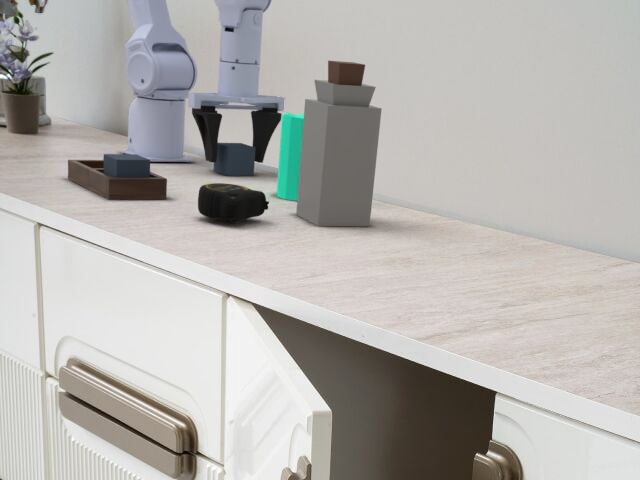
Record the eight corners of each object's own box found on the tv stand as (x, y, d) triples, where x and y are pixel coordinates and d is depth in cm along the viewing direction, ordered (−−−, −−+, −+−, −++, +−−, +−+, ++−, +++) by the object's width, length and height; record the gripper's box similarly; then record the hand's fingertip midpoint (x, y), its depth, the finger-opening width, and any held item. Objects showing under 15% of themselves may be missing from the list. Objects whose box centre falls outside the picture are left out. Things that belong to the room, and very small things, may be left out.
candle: (323, 196, 152) (331, 103, 147) (318, 203, 147) (327, 107, 142) (279, 191, 153) (286, 98, 148) (273, 198, 147) (280, 102, 142)
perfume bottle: (296, 214, 138) (308, 58, 130) (346, 215, 140) (360, 62, 133) (317, 225, 132) (331, 63, 125) (369, 226, 135) (385, 67, 128)
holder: (67, 179, 147) (67, 159, 146) (122, 179, 151) (122, 160, 150) (108, 199, 136) (109, 178, 135) (166, 199, 140) (167, 178, 139)
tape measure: (232, 228, 126) (234, 195, 125) (184, 218, 129) (186, 185, 128) (267, 222, 131) (270, 189, 130) (221, 212, 135) (223, 180, 133)
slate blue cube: (213, 170, 165) (214, 142, 163) (240, 170, 167) (241, 143, 165) (226, 175, 161) (228, 147, 160) (253, 175, 164) (255, 147, 162)
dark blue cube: (103, 186, 141) (103, 153, 140) (135, 186, 143) (136, 154, 142) (116, 193, 138) (116, 159, 136) (149, 192, 140) (150, 159, 138)
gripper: (205, 62, 151) (201, 165, 157) (298, 67, 159) (291, 166, 164) (183, 57, 157) (180, 157, 162) (274, 62, 164) (268, 158, 170)
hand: (234, 161), depth 164 cm, fingers open, 7 cm apart
